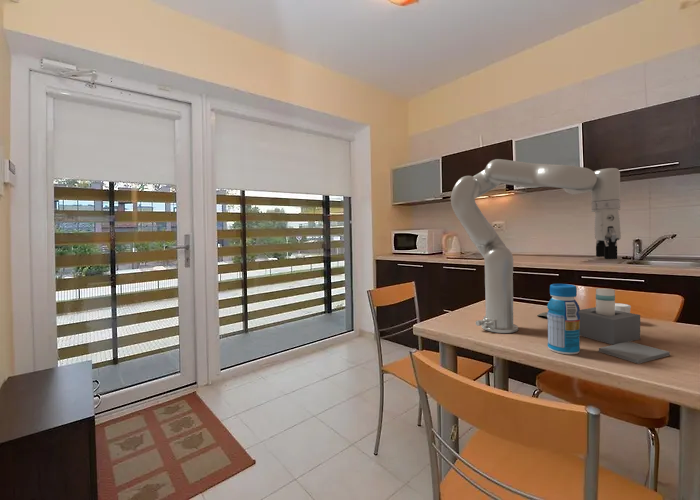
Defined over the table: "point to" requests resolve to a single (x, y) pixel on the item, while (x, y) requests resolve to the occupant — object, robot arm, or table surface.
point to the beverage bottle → (563, 319)
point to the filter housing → (609, 326)
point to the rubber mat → (634, 352)
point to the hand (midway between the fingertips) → (606, 257)
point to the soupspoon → (543, 314)
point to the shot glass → (622, 307)
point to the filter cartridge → (605, 301)
